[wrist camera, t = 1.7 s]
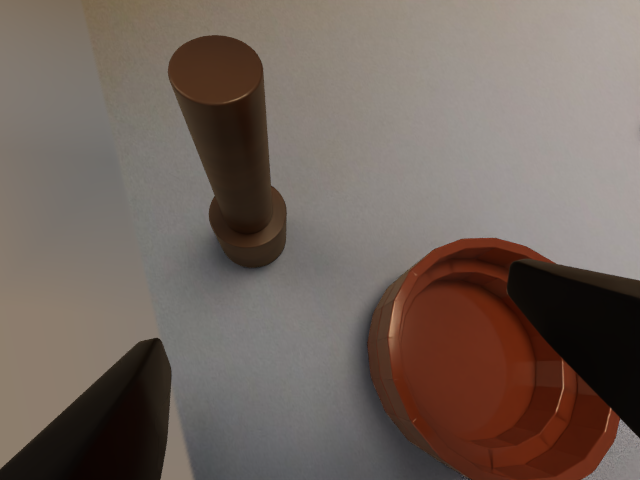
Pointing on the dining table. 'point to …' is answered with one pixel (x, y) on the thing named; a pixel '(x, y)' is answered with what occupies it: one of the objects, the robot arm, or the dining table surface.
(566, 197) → the dining table surface
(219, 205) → the pestle
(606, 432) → the bowl
